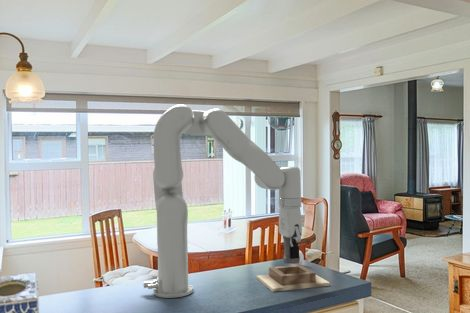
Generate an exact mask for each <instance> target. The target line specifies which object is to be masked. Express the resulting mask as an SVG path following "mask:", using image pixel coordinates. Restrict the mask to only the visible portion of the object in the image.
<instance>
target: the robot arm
mask: <svg viewBox="0 0 470 313" xmlns="http://www.w3.org/2000/svg"><path fill="white" fill-rule="evenodd" d="M182 135H195V136H211V137H212V138H213V140H215V141H216V142H217V143H218V144H219V145H220V147H221V148H223V149H224V151H225V152H226V153H227V154H228V155H229V156H230V157H231V158H232V159H234V160H235V161H237V162H239V163H241V164H242V165H244V166H245V167H246V168H248V170H250V172H252V173H253V174H254V176H253V178H254V182H255V184H256V185H257V187H259V188H261V189H265V190H269V191H276V190H278V208H279V212H278V234H280V235H281V236H282V237H283V236H285V237H287V238H290V245H291V247H290V258H291V259H294V258H299V250H300V242H301V240H302V236H303V225H302V223H303V219H302V211H301V208H302V182H301V180H302V179H301V176H302V175H301V170H300V168H299V167H298V166H283V167H279V165H278V164H277V163H276V162H275V161H274V160H273V159H272V157H270V156H269V154H268V153H266V152H265V151H264V150H263V149H262V148H261V147H259V146H258V145H257V144H256V143H255V142H254V141H252V139H250V137H248V135H246V133H244V131H242V129H241V128H240V127H239V126H238V125H237V124H236V122H235V121H234V120H233V119H232V118H231V117H230V116H229V115H228V114H227V113H226V112H225V111H224V110H222V109H220V108H211V109H209V110H207V111H206V110H192V109H191V107H189V106H188V105H185V104H176V105H174V106H172V107H170V108H169V109H167V110H166V111H165V112H164V113H163V114H161V116H160V117H159V119H158V120H157V122H156V124H155V126H154V130H153V138H152V140H153V141H152V142H153V143H152V144H153V145H152V146H153V158H154V159H153V162H154V168H153V171H152V177H153V178H152V179H153V190H154V202H155V203H154V204H155V209H156V233H157V234H156V235H157V236H156V240H157V242H156V243H157V244H156V245H157V277H156V279H153V280H152V281H147V280H146V281H143V282H142V283H143V285H142V286H143V289H148V290H152V289H153V295H154V296H155V297H157V298H165V299H175V298H176V299H177V298H182V297H187V296H189V295H190V294H192V293H193V292H194V287H193V285H191V284H189V261H188V260H189V258H188V257H189V256H188V255H189V254H188V252H189V251H188V248H189V247H188V214H189V210H188V205H187V202H186V200H185V199H184V194H183V184H182V182H183V178H184V170H183V163H182V155H181V138H182ZM293 235H295V236H296V237H292V236H293ZM293 239H295V240H294V241H293Z"/></svg>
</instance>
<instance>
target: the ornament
mask: <svg viewBox="0 0 470 313" xmlns="http://www.w3.org/2000/svg"><path fill="white" fill-rule="evenodd" d="M299 256H300V261H299V263H297V264H290V265H302V264H303V262H304V261H305V260H304V257H305V255H304V254H303V252H302V251H301V250H300V249H299Z"/></svg>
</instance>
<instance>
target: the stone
mask: <svg viewBox="0 0 470 313" xmlns="http://www.w3.org/2000/svg"><path fill="white" fill-rule="evenodd" d="M292 237H296V236H295V235H293V236H292ZM282 239H283V252H284V253H283V258H282V259H283V263H284V264H289V265H291V264H297V263H299V261H300V256H299V258H294V259H291V258H290V247H291V245H290V238H287V237H285V236H282ZM294 240H295V239H293V241H294Z"/></svg>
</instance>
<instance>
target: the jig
mask: <svg viewBox="0 0 470 313" xmlns="http://www.w3.org/2000/svg"><path fill="white" fill-rule="evenodd" d="M256 279H257V280H258V281H259V282H260V283H261V284H262V285H263V286H264V287H266V288H267V289H269V290H270V291H271V292H281V291H282V292H283V291H291V290H301V289H309V288H320V287H328V286H330V285H331V284H330V283H331V282H330V281H328V280H326V279H325V278H322V277H321V276H319V275H317V274H316V272H314V271H313V270H311V269H310V268H308V267H306V266H304V265H302V264H300V265H291V264H289V265H284V266H282V265H281V266H273V267H272V266H271V267H268V274H261V275H260V274H259V275H258V274H257V275H256Z"/></svg>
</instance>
